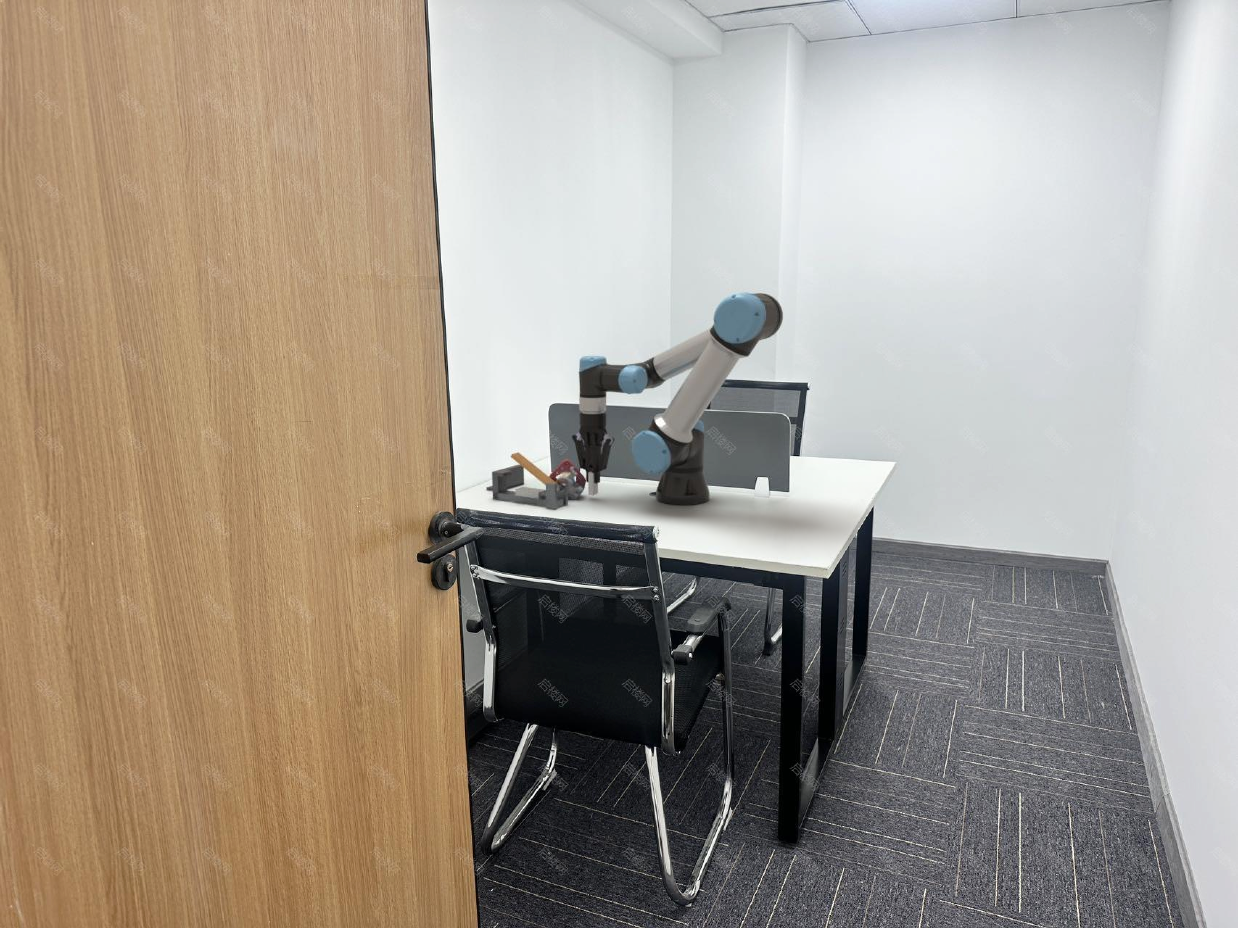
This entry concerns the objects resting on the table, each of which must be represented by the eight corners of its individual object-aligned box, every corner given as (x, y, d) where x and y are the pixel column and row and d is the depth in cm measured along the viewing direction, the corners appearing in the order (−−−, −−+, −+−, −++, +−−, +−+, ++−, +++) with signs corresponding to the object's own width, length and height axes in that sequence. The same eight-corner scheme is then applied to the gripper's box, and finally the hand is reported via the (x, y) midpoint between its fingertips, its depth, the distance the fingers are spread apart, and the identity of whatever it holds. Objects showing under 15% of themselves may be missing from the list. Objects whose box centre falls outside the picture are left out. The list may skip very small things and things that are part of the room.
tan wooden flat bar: (561, 491, 232) (563, 487, 232) (554, 493, 229) (556, 489, 229) (517, 455, 238) (518, 451, 237) (510, 457, 235) (512, 453, 235)
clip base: (568, 504, 234) (567, 476, 232) (555, 509, 228) (554, 480, 227) (504, 495, 245) (503, 468, 243) (490, 499, 240) (489, 472, 238)
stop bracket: (524, 484, 259) (523, 465, 258) (499, 492, 249) (498, 472, 248) (511, 482, 262) (510, 463, 261) (486, 490, 252) (485, 470, 251)
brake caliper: (590, 484, 248) (585, 457, 239) (585, 513, 241) (579, 486, 232) (553, 483, 250) (546, 456, 241) (546, 512, 243) (539, 485, 234)
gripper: (619, 411, 235) (619, 494, 239) (580, 408, 241) (581, 488, 246) (605, 415, 228) (605, 499, 233) (566, 411, 235) (566, 493, 240)
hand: (593, 493), depth 240 cm, fingers closed
